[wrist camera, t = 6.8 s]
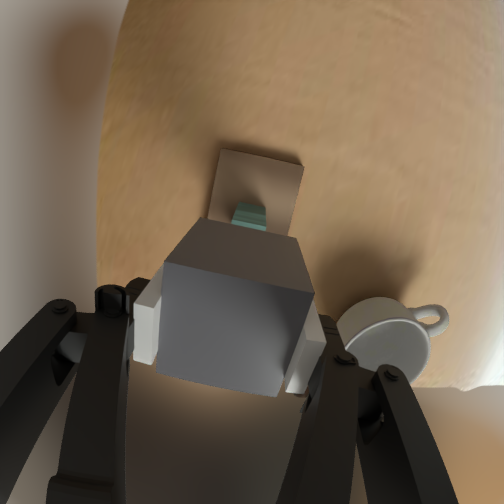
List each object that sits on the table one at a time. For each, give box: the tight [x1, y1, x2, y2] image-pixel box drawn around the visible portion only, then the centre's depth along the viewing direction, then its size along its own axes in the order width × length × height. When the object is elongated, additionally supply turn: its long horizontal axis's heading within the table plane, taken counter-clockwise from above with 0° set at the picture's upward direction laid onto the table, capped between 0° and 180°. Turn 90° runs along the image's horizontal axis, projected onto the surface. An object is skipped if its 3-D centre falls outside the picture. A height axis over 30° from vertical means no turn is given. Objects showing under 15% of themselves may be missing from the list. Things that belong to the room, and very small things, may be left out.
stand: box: [207, 148, 304, 236], centre depth 27 cm, size 12×8×8 cm, turn 168°
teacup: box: [336, 297, 449, 384], centre depth 31 cm, size 14×11×8 cm
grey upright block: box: [156, 217, 315, 397], centre depth 15 cm, size 5×5×7 cm
